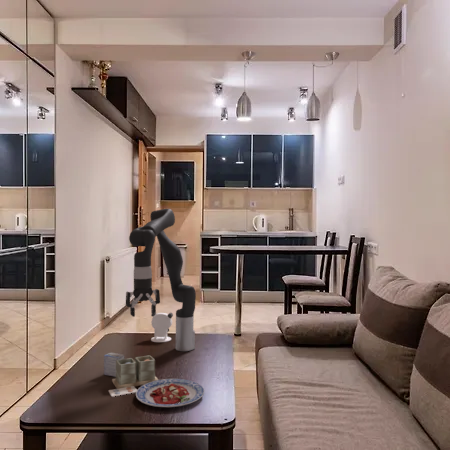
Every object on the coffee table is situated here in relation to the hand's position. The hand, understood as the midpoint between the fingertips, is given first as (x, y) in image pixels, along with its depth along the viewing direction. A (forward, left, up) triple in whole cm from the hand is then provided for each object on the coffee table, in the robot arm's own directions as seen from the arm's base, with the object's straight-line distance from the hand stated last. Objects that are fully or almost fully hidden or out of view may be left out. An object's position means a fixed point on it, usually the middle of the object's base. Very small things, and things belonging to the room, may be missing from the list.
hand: (143, 315), depth 176 cm
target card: (+11, +11, -27) cm, 31 cm away
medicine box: (+10, -9, -27) cm, 30 cm away
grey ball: (+7, +3, -20) cm, 22 cm away
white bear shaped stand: (-26, -52, -27) cm, 65 cm away
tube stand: (+4, +3, -27) cm, 27 cm away
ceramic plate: (-4, +23, -27) cm, 36 cm away
